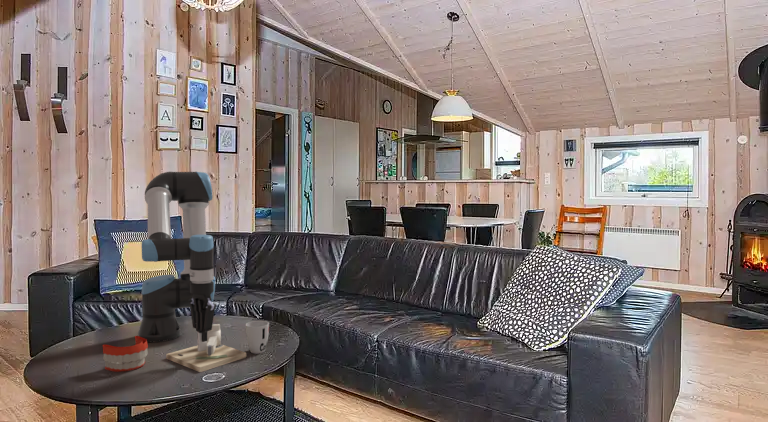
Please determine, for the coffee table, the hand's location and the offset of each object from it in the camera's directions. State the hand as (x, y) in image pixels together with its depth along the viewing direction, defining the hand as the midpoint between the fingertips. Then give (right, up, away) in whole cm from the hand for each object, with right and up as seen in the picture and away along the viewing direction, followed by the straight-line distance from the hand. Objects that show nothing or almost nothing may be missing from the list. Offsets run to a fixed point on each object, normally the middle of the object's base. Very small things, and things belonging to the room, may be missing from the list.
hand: (202, 350), depth 177 cm
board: (0, -4, +3) cm, 5 cm away
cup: (+16, -3, +11) cm, 20 cm away
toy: (-22, -4, -5) cm, 23 cm away
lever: (+2, -1, +5) cm, 6 cm away
